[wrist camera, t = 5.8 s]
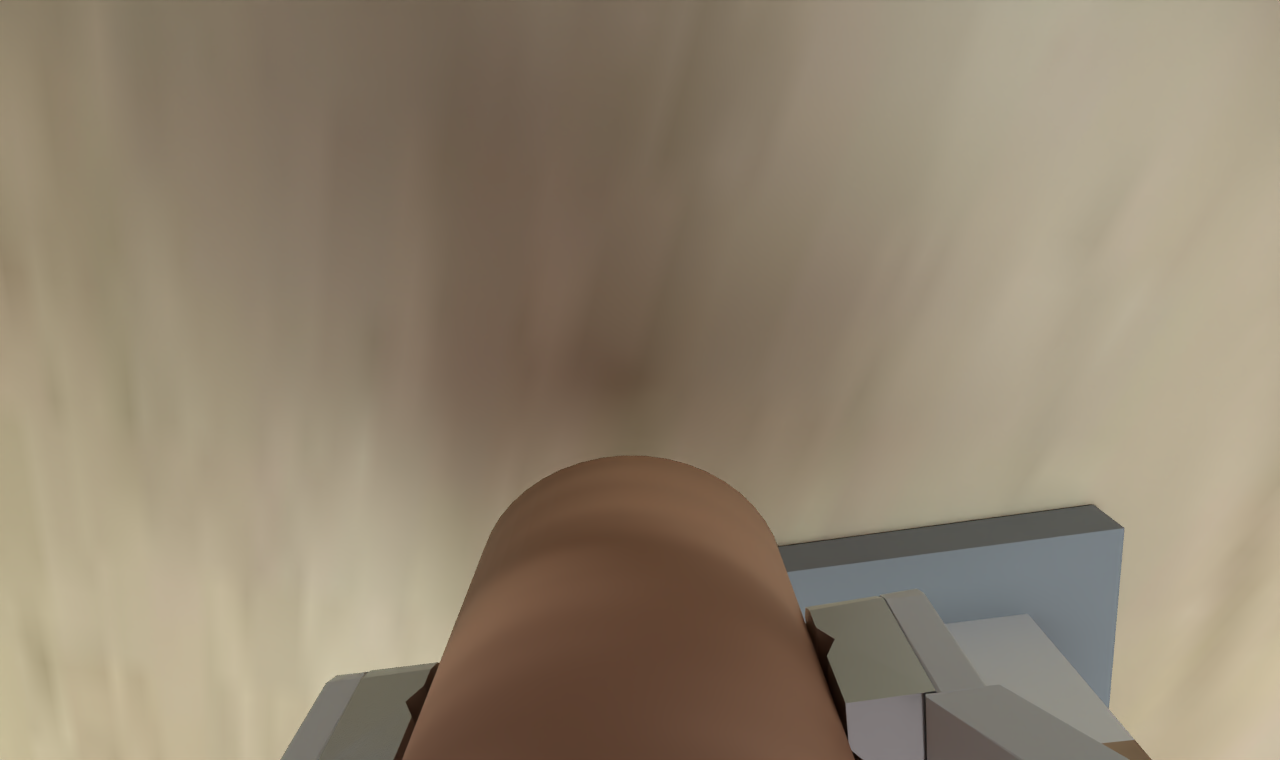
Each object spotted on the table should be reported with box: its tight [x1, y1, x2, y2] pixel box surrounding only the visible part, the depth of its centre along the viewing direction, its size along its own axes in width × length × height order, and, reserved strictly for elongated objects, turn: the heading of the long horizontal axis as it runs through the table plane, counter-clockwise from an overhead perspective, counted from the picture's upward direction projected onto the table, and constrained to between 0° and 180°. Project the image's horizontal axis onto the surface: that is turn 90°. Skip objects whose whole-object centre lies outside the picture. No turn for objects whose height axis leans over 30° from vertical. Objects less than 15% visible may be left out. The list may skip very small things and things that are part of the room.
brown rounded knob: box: [402, 456, 855, 760], centre depth 8 cm, size 5×5×5 cm
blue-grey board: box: [778, 505, 1124, 709], centre depth 23 cm, size 13×13×2 cm
